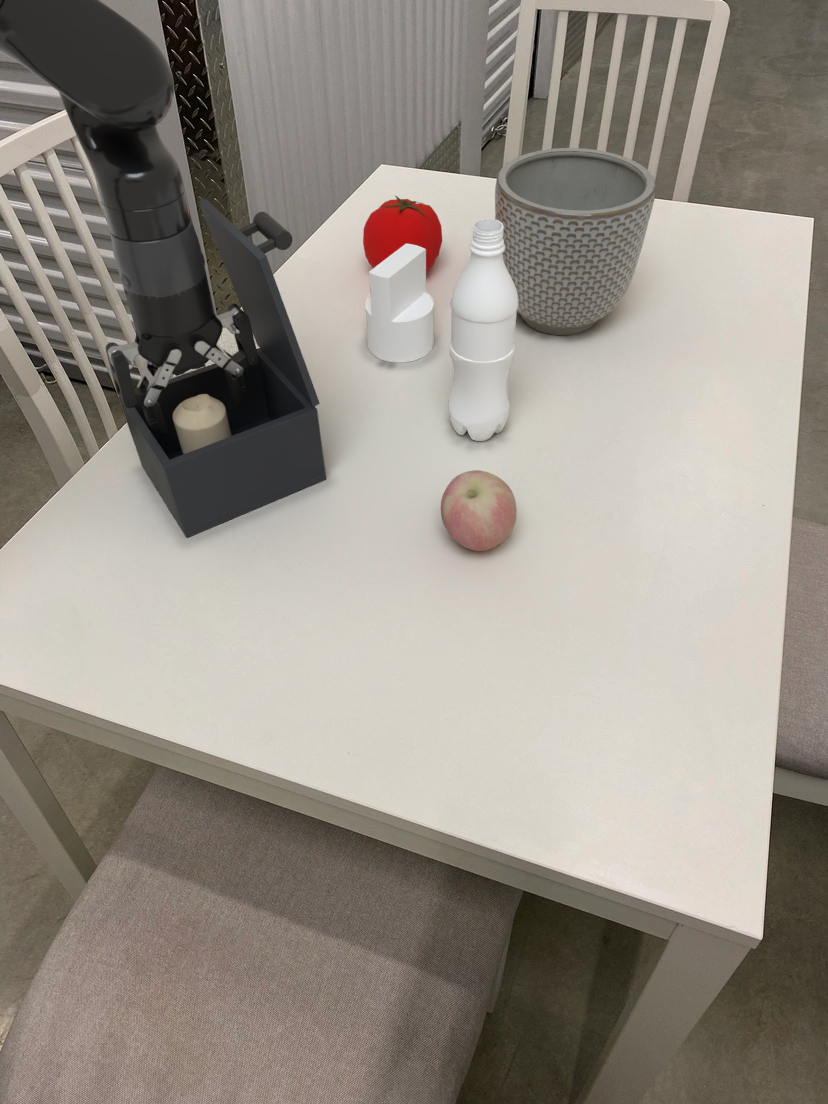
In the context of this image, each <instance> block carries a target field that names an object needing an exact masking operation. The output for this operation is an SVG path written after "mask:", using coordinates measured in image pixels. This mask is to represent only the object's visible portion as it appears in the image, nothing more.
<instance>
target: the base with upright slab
mask: <svg viewBox="0 0 828 1104" xmlns="http://www.w3.org/2000/svg"><path fill="white" fill-rule="evenodd" d="M368 279H369V296H368V297H367V298H366V299H365V302H364V312H365V324H366V325H365V327H366V338H367V349H368V350H369V353H370V354H371V355H373V356H374V357H375V358H377V359H379V360H382V361H385V362H389V363H397V364H401V363H409V362H415V361H418V360H420V359H422V358H425V357H426V356H427V355H428V354H430V353H431V351H432V350H433V348H434V345H435V304H434V302H435V301H434V299H433V297H432V296H431V295H430V294H429V293H428V292H427V272H426V249H425V248H422V247H420V246H417V245H412V244H405V245H403V246H402V247H401V248H400V249H398V250H397V251H396V252H394V253H393V254H392V255H390V256H389V257H388V258H386V259H385V260H384V261H382V262H381V263H380V264H378V265H377V266H376V267H375V268H373V267H372V268H371V270H369V271H368Z"/></svg>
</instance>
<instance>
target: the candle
mask: <svg viewBox="0 0 828 1104" xmlns="http://www.w3.org/2000/svg"><path fill="white" fill-rule="evenodd" d="M173 421H174V425H175V428H176V432H177V435H178V438H179V442H180V445H181V449H182V452H183V454H186V453H189V452H191V451H194V450H197V449H199V448H202V447H204V446H207V445H210V444H212V443H215V442H217V441H220V440H223V439H225V438H228V437H231V436H232V435H231V431H230V426H229V422H228V418H227V413H226V409H225V406H224V404H223V403H222V402H220V401H219V400H217V399H215V398H213V397H211V396H209V395H208V394H201V395H198V396H196V397H192V398H189V399H187V400H185V401H183V402H182V403H180V404H179V405H178V406H177V408H176V409H175V410H174V412H173Z"/></svg>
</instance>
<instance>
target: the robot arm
mask: <svg viewBox="0 0 828 1104" xmlns="http://www.w3.org/2000/svg"><path fill="white" fill-rule="evenodd" d="M0 54H2V55H4V56H6V57H8V58H10V59H12V60H13V61H15V62H17V63H19V64H20V65H21V66H23V67H24V68H26V69H27V70H29V72H31V73H32V74H34V75H35V76H37V77H38V78H39V79H41V80H42V81H44V82H45V83H46V84H47V85H49V86H50V87H52V88H53V89H54V90H56V91H57V92H58V94H59V97H60V99H61V103H62V105H63V107H64V109H65V110H64V111H65V112H66V114H67V117H68V120H69V121H70V124H71V125H72V129H73V131H74V132H75V136H76V137H77V141H78V142H79V145H80V146H81V149H82V151H83V153H84V156H85V158H86V159H87V161H88V164H89V166H90V169H91V171H92V173H93V176H94V179H95V182H96V188H97V192H98V196H99V200H100V203H101V207H102V210H103V214H104V217H105V221H106V223H107V224H106V225H107V227H108V230H109V235H110V240H111V246H112V252H113V257H114V261H115V264H116V269H117V272H118V276H119V278H120V281H121V284H122V285H121V286H122V287H123V291H124V294H125V298H126V301H127V305H128V308H129V311H130V314H131V318H132V321H133V325H134V328H135V338H134V341H132V342H129V343H125V344H120V345H118V344H117V342H108V343H107V344H106V345H105V353H106V356H107V361H108V365H109V368H110V372H111V377H112V380H113V383H114V388H115V391H116V394H117V395H118V397H120V398H121V399H122V401H123V403H124V405H125V406H126V407H127V408H133V407H135V406H136V405H141V406H142V408H143V411H144V414H145V417H146V420H147V422H148V424H149V425H150V427H151V428H152V429H153V430H154V431H157V430H158V431H159V433H160V434H164V433H166V432H167V428H166V425H165V421H164V418H163V415H162V411H161V408H160V405H159V403H158V402H157V399H158V397H159V395H160V393H161V390H162V389H165V388H166V386H167V384H168V381H169V379H171V378H172V375H174V376H175V377H177V376H180V375H182V374H185V373H188V372H190V370H197V369H200V368H203V367H206V364H207V363H208V362H209V361H211V362H212V363H213V364H214V363H215V364H217V365H218V366H220V367H221V368H224V372H225V376H226V381H227V386H228V390H229V395H230V397H231V399H232V401H233V402H234V403H235V404H236V406H240V405H243V404H244V402H243V399H245V398H246V396H247V390H246V386H245V380H244V375H243V373H244V370H245V369H246V368H247V367H248V366H249V365H251V366H254V365H256V364H257V363H258V361H259V357H258V353H257V349H258V348H257V344H256V340H255V338H254V336H253V333H252V329H251V325H250V321H249V317H248V316H247V315H246V314H245V313H244V311H243V309H242V307H240V306H239V305H238V304H237V303H232V304H230V305H228V306H227V311H226V312H224V313H221V314H217V315H216V313H215V308H214V304H213V298H212V295H211V289H210V285H209V280H208V275H207V271H206V267H205V266H206V260H205V256H204V253H203V252H202V247H201V243H200V240H199V237H198V234H197V231H196V229H195V226H194V222H193V219H192V215H191V211H190V206H189V201H188V197H187V192H186V188H185V183H184V178H183V174H182V172H181V169H180V166H179V164H178V162H177V160H176V158H175V156H174V155H173V154H172V152H171V151H170V150H169V149H168V147H167V146H166V144H165V142H164V141H163V140H162V137H161V136H160V133H159V131H158V128H157V125H159V124H160V123H161V122H162V121H163V120H164V119H165V118H166V117H167V115H168V114H169V112H170V110H171V107H172V104H173V102H174V95H175V81H174V76H173V71H172V69H171V66H170V63H169V61H168V59H167V57H166V56H165V54H164V52H163V50H162V49H161V47H160V46H159V45H158V43H156V41H155V40H154V39H153V38H151V36H150V35H148V34H147V33H146V32H145V31H143V30H142V29H141V28H139V26H137V25H136V24H134V23H132V22H131V21H129V20H128V19H127V18H125V17H124V16H123V15H121V14H120V13H118V12H117V11H115V10H114V9H113V8H111V7H110V6H108V5H107V4H105V3H104V2H103V1H101V0H0ZM224 328H225V329H227V330H228V331H229V333H230V334H232V335H233V336H234V340H235V344H236V347H237V351H236V352H235V353H233V354H231V353H230V352H228V351H227V350H225V349H224V348H223V347H221V346H220V345H219V344H218V343H219V340H220V338H221V336H222V333H223V329H224ZM138 356H141V357H142V358H143V359H144V360H145V361H144V364H143V365H142V368H141V373H142V374H141V377H140V379H139V381H138V383H137V386H134V383H133V380H132V375H131V371H130V370H132V369H133V368H134V366H135V359H136V358H137V357H138Z"/></svg>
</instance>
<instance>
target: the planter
mask: <svg viewBox="0 0 828 1104" xmlns="http://www.w3.org/2000/svg"><path fill="white" fill-rule="evenodd" d="M655 199H656V180H655V177H654V175H652V173H651V172H650V171H649V170H648V168H646V167H645V166H643V165H642V164H641V163H638V162H637V161H635V160H633V159H631V158H629V157H626V156H623V155H620V154H617V153H613V152H609V151H605V150H600V149H599V150H598V149H593V148H592V149H591V148H580V147H579V148H578V147H558V148H549V149H541V150H536V151H532V152H527V153H525V154H522V155H519V156H517V157H515V158H513V159H512V160H510V161H508V162H506V163H505V164H504V166H502V167H501V168H500V170H499V171H498V172H497V175H496V182H495V188H494V219H495V220H498V221H500V222H502V224H503V226H504V228H503V240H504V245H505V250H504V252H503V253H502V254H503V260H504V264H505V266H506V268H507V270H508V272H509V274H510V276H511V278H512V280H513V282H514V285H515V287H516V290H517V294H518V309H517V313H518V314H519V315H520V316H521V318H522V320H523V321H524V322H525V323H526V324H527V325H528V326H529V327H530V328H532V329H533V330H536V331H538V332H540V333H543V334H547V335H553V336H571V335H576V334H580V333H583V332H584V331H586V330H588V329H590V328H591V327H592V326H594V324H595V323H596V322H597V321H598V320H601V319H602V318H603V317H605V316H607V315H609V314H610V313H611V312H612V311H613V310H614V309H615V308H617V306H618V305H619V304H620V303H621V301H622V300H623V298H624V297H625V295H626V293H627V292H628V289H629V287H630V286H631V282H632V281H633V277H634V274H635V271H636V268H637V265H638V262H639V259H640V255H641V252H642V249H643V245H644V242H645V238H646V235H647V230H648V226H649V223H650V218H651V214H652V211H653V207H654V204H655Z"/></svg>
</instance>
